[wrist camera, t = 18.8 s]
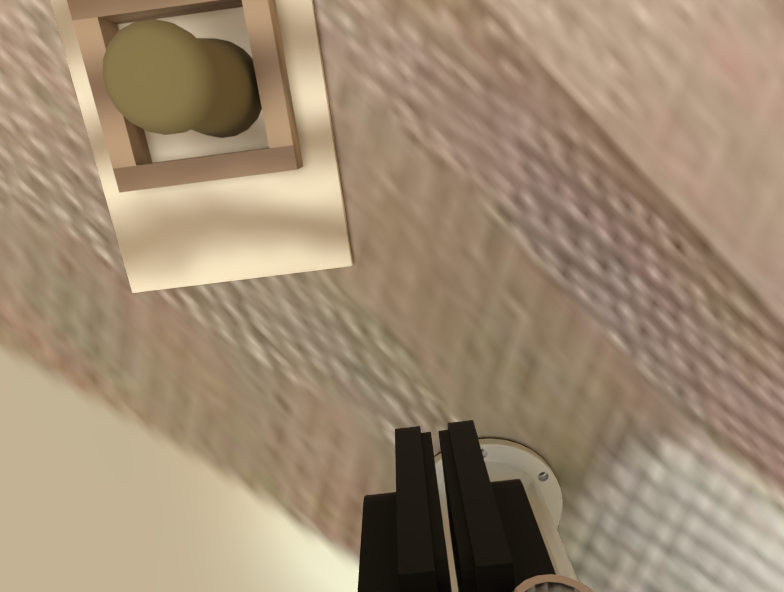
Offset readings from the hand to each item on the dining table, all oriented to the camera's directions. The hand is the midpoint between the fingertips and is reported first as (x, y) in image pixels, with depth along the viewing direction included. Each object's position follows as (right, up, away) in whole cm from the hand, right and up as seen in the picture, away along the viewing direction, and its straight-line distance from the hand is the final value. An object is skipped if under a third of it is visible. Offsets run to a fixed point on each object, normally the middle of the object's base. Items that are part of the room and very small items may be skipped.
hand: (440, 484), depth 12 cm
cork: (-12, +17, +24) cm, 32 cm away
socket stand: (-13, +15, +26) cm, 32 cm away
